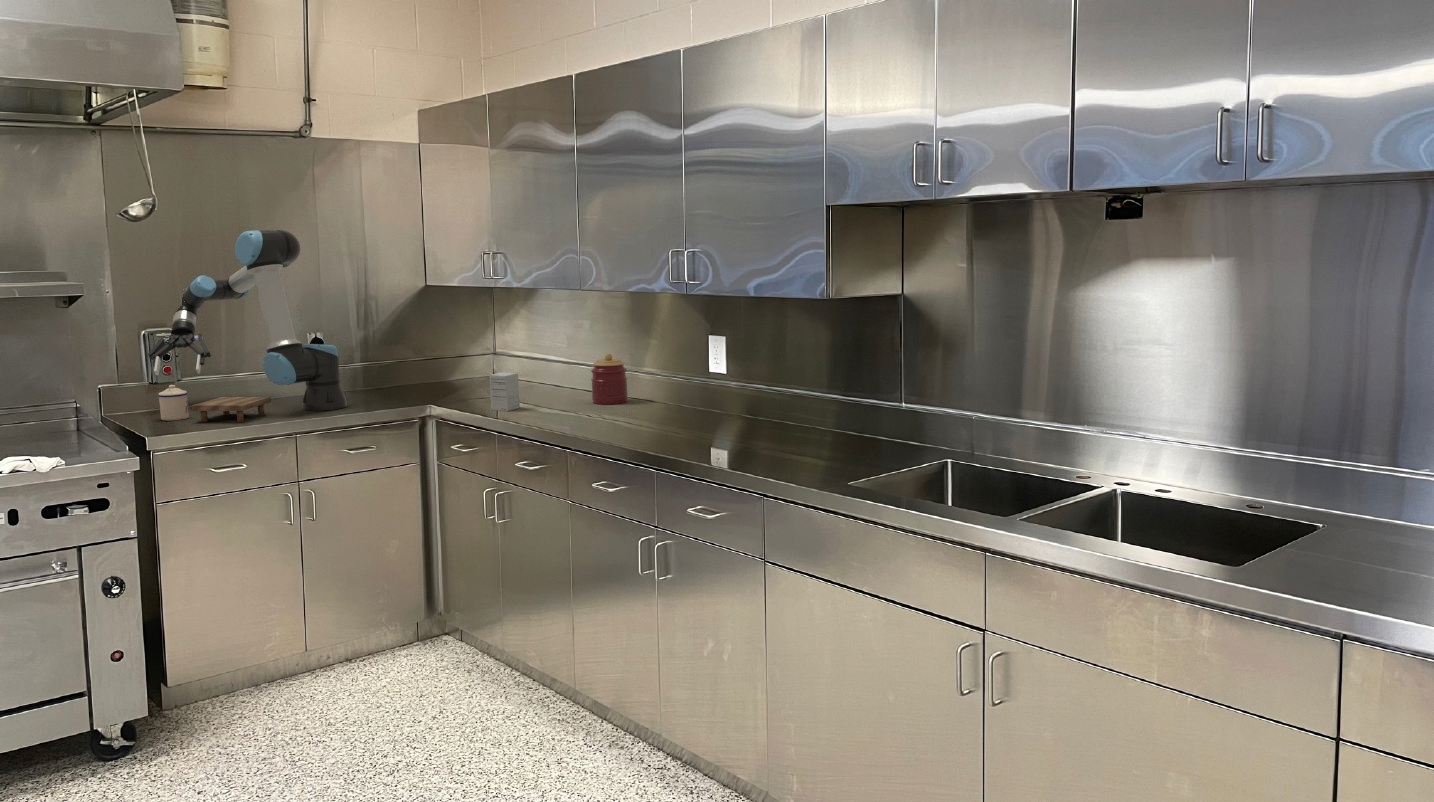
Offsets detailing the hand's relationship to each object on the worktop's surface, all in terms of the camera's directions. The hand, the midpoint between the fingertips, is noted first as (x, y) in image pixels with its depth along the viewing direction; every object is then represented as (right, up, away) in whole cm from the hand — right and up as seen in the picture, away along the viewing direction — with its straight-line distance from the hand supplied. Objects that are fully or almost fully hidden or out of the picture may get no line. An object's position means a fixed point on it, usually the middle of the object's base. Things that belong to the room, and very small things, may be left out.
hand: (177, 372), depth 376 cm
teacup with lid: (+3, -16, -8) cm, 18 cm away
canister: (+152, -11, +10) cm, 153 cm away
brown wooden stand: (+25, -16, -10) cm, 31 cm away
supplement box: (+116, -13, -1) cm, 117 cm away
